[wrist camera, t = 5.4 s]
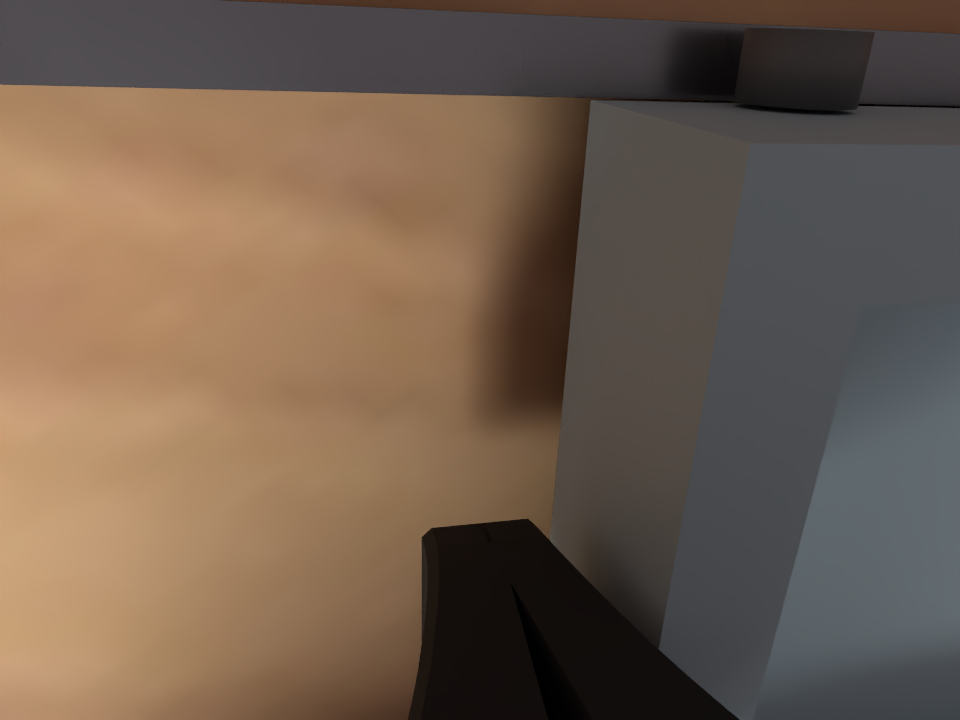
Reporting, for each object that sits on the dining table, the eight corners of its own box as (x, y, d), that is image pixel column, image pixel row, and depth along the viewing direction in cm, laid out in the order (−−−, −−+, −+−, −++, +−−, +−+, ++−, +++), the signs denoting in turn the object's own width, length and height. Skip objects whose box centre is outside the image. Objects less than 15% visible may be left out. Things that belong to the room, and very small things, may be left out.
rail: (1248, 639, 17) (1379, 726, 15) (-332, 892, 11) (-484, 1099, 9) (1602, 64, 12) (1877, 72, 10) (-967, -51, 6) (-1675, -94, 4)
